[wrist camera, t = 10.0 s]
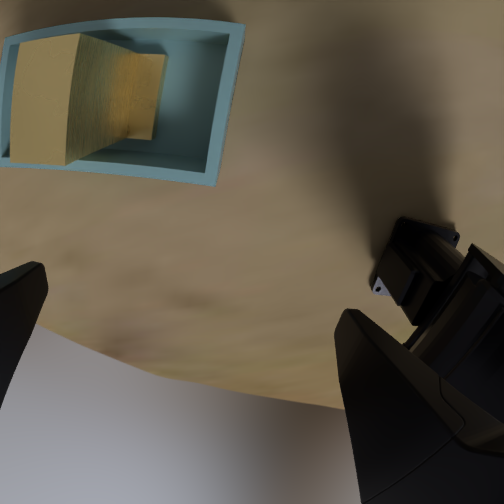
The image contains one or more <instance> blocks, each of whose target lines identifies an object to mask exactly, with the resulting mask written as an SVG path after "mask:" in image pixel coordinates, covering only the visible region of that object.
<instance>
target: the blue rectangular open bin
mask: <svg viewBox="0 0 504 504" xmlns="http://www.w3.org/2000/svg"><path fill="white" fill-rule="evenodd" d="M245 26H246V24H240V23H232V22H224V21H215V20H204V19H191V18H168V17H140V18H117V19H104V20H94V21H85V22H77V23H70V24H64V25H58V26H53V27H47V28H43V29H38V30H33V31H29V32H25V33H21V34H17V35H13V36H10V37H6V38H5V41H4V46H3V52H2V58H1V64H0V167H18V168H39V169H56V170H70V171H83V172H95V173H106V174H117V175H127V176H136V177H145V178H154V179H162V180H170V181H178V182H185V183H193V184H200V185H207V186H214V187H215V186H216V183H217V179H218V175H219V172H220V168H221V162H222V156H223V150H224V144H225V138H226V132H227V127H228V121H229V116H230V110H231V105H232V99H233V94H234V89H235V84H236V79H237V74H238V69H239V64H240V59H241V54H242V49H243V45H244V40H245ZM77 33H81V34H84V35H88V36H91V37H94V38H97V39H100V40H103V41H106V42H109V43H112V44H115V45H117V46H120V47H123V48H126V49H128V50H131V51H134V52H136V53H139V54H161V55H166V56H168V57H169V60H168V65H167V70H166V75H165V81H164V86H163V92H162V98H161V105H160V111H159V118H158V125H157V133H156V138H155V139H153V140H144V139H133V138H126V139H123V140H121V141H118V142H116V143H114V144H111V145H109V146H107V147H104V148H102V149H100V150H98V151H95V152H93V153H91V154H89V155H87V156H85V157H82V158H80V159H78V160H76V161H74V162H72V163H70V164H68V165H66V166H59V165H44V164H27V163H10V122H11V105H12V94H13V84H14V76H15V69H16V63H17V57H18V51H19V46H20V43H22V42H27V41H32V40H37V39H43V38H49V37H55V36H62V35H69V34H77Z"/></svg>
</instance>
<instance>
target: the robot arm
mask: <svg viewBox="0 0 504 504" xmlns="http://www.w3.org/2000/svg"><path fill="white" fill-rule="evenodd" d="M403 222H405V224H404V225H403V226H401V225H402V223H403ZM454 236H455V237H454ZM453 237H454V238H453ZM459 238H460V235H459V233H458V232H457V231H455V230H452V229H448V228H445V227H441V226H437V225H434V224H430V223H426V222H423V221H419V220H415V219H411V218H407V217H400V218H399V219H398V220H397V222H396V225H395V227H394V230H393V233H392V236H391V238H390V241H389V243H388V244H387V246H386V249H385V251H384V254H383V257H382V259H381V261H380V264H379V266H378V269H377V271H376V276H375V278H374V280H373V283H372V285H371V290H372V292H373V293H374V294H377V295H387V296H392V298H393V300H394V301H395V303H396V304H397V305H398V306H400V307H401V308H402V310H403V311H404V313H405V315H406V316H407V318H408V319H409V321H410V323H411V324H412V325H413V326H418V327H417V329H416V330H415V331H414V332H413V334H412V335H411V336H410V337H409V339H408V340H407V341H406V342H405V343H403V344H400V343H399V342H398V341H397V340H396V339H394V338H393V337H392V336H391V335H389V334H388V333H387V332H386V331H384V330H383V329H382V328H381V327H380V326H378V325H377V324H376V323H375V322H373V321H372V320H371V319H370V318H368V317H367V316H366V315H365V314H363V313H362V312H361V311H360V310H358V309H348V308H347V309H345V310H344V311H343V313H342V315H341V317H340V320H339V322H338V324H337V326H336V329H335V332H334V339H335V348H336V358H337V367H338V377H339V383H340V388H341V393H342V398H343V403H344V407H345V412H346V417H347V422H348V428H349V433H350V438H351V444H352V449H353V455H354V461H355V466H356V472H357V479H358V485H359V491H360V498H361V503H362V504H504V264H503V263H501V262H500V261H498V260H497V259H495V258H494V257H493V256H491V255H490V254H488V253H487V252H485V251H484V250H482V249H481V248H479V247H478V246H476V245H474V244H473V243H472V244H471V245H470V247H469V249H468V251H469V252H468V253H467V255H466V257H464V256H463V255H462V254H461V253H460V252H459V251H458V250H457V249H455V248H456V246H457V243H458V241H459ZM377 287H379V288H377ZM376 288H377V289H376ZM47 293H48V282H47V277H46V272H45V267H44V265H43V264H42V263H39V262H34V261H31V262H28V263H26V264H23V265H21V266H19V267H16V268H14V269H11V270H9V271H7V272H4V273H2V274H0V408H1V405H2V403H3V400H4V397H5V394H6V392H7V389H8V386H9V384H10V382H11V379H12V377H13V374H14V372H15V369H16V367H17V365H18V362H19V360H20V358H21V355H22V353H23V351H24V349H25V347H26V345H27V342H28V340H29V338H30V336H31V334H32V331H33V329H34V326H35V324H36V321H37V318H38V316H39V313H40V311H41V308H42V306H43V303H44V301H45V299H46V296H47Z"/></svg>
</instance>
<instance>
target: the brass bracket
mask: <svg viewBox="0 0 504 504" xmlns="http://www.w3.org/2000/svg"><path fill="white" fill-rule="evenodd" d="M168 60H169V57H168V56H166V55H161V54H139V53H136V52H134V51H131V50H128V49H126V48H123V47H120V46H117V45H115V44H112V43H109V42H106V41H103V40H100V39H97V38H94V37H91V36H88V35H84V34H81V33H77V34H69V35H62V36H55V37H49V38H43V39H37V40H32V41H27V42H22V43H20V46H19V51H18V57H17V63H16V69H15V76H14V84H13V94H12V105H11V122H10V163H27V164H44V165H59V166H66V165H68V164H70V163H72V162H74V161H76V160H78V159H80V158H82V157H85V156H87V155H89V154H91V153H93V152H95V151H98V150H100V149H102V148H104V147H107V146H109V145H111V144H114V143H116V142H118V141H121V140H123V139H126V138H133V139H144V140H153V139H155V138H156V133H157V125H158V118H159V111H160V105H161V98H162V92H163V86H164V81H165V75H166V70H167V65H168Z"/></svg>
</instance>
